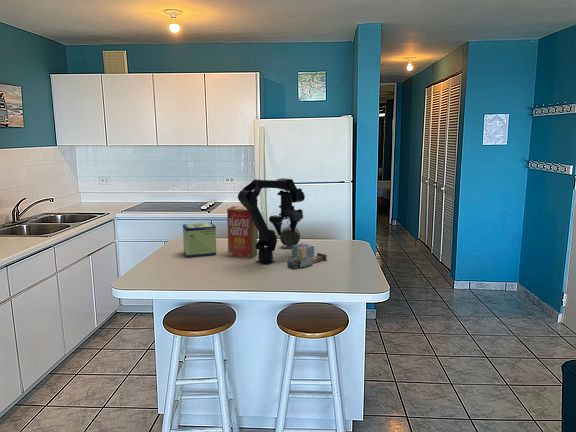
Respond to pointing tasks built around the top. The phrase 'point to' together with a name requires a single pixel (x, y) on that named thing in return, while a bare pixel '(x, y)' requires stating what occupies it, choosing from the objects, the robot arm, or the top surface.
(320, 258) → the rail
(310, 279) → the top surface
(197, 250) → the protein box
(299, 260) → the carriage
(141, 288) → the top surface
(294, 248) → the blue button housing
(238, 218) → the food packaging
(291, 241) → the alarm clock
